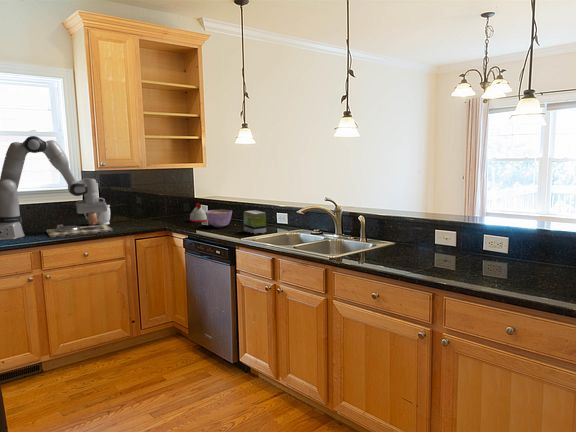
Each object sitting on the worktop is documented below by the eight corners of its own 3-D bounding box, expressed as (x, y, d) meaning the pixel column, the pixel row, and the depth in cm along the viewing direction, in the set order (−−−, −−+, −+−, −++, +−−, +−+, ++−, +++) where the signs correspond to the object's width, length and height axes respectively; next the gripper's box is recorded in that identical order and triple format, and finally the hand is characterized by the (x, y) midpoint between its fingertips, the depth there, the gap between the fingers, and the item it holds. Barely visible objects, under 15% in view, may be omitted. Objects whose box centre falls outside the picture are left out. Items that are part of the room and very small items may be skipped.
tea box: (243, 231, 313) (243, 211, 311) (255, 230, 319) (255, 209, 317) (254, 234, 301) (254, 213, 299) (266, 233, 307) (266, 212, 305)
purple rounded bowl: (227, 223, 347) (226, 209, 345) (236, 227, 330) (236, 212, 328) (202, 225, 338) (202, 210, 336) (210, 229, 320) (210, 214, 319)
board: (50, 237, 292) (49, 234, 292) (46, 231, 312) (46, 229, 312) (113, 231, 314) (112, 228, 314) (106, 226, 334) (105, 224, 334)
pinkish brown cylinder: (98, 224, 314) (97, 213, 313) (89, 225, 311) (88, 214, 310) (97, 222, 322) (95, 211, 320) (88, 223, 319) (87, 213, 317)
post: (58, 233, 300) (57, 226, 299) (55, 229, 312) (55, 223, 311) (82, 230, 308) (81, 224, 307) (78, 227, 320) (78, 221, 320)
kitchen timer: (193, 223, 351) (192, 204, 348) (187, 220, 362) (186, 202, 360) (209, 221, 358) (209, 203, 356) (203, 219, 370) (202, 201, 367)
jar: (93, 224, 343) (92, 205, 341) (104, 222, 352) (103, 204, 350) (103, 225, 338) (102, 206, 336) (114, 223, 348) (112, 204, 345)
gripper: (76, 201, 307) (77, 220, 309) (107, 199, 318) (108, 218, 320) (74, 200, 312) (76, 219, 314) (105, 198, 323) (106, 217, 325)
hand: (92, 218), depth 317 cm, fingers closed on pinkish brown cylinder, 6 cm apart
